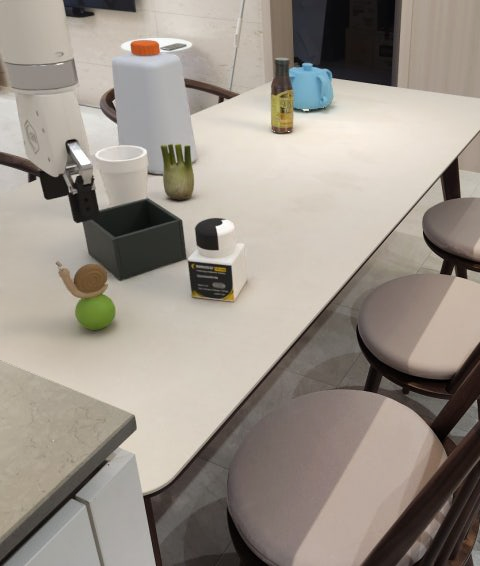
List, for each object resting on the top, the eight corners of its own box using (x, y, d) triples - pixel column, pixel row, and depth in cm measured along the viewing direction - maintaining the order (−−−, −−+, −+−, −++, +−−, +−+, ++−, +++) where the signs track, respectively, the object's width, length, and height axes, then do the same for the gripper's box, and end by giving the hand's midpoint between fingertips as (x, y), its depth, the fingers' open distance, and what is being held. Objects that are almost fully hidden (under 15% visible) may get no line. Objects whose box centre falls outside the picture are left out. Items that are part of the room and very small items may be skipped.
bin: (119, 280, 106) (112, 239, 102) (88, 253, 113) (80, 214, 109) (186, 258, 113) (182, 219, 109) (153, 234, 121) (148, 197, 117)
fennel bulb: (198, 196, 138) (192, 142, 132) (186, 204, 134) (180, 149, 128) (174, 192, 139) (168, 138, 133) (161, 200, 135) (154, 145, 129)
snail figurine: (66, 327, 93) (48, 255, 87) (109, 312, 97) (95, 242, 91) (80, 344, 90) (63, 270, 84) (124, 328, 94) (111, 256, 88)
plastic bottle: (151, 150, 162) (136, 34, 148) (204, 158, 158) (193, 40, 144) (113, 168, 150) (92, 44, 135) (169, 178, 146) (154, 51, 132)
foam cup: (98, 213, 128) (86, 151, 121) (141, 202, 133) (131, 142, 127) (120, 229, 122) (109, 165, 115) (164, 216, 128) (156, 154, 121)
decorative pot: (326, 116, 196) (326, 71, 189) (276, 111, 198) (275, 66, 191) (337, 103, 210) (338, 60, 203) (290, 99, 212) (289, 56, 205)
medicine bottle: (191, 297, 102) (183, 230, 96) (207, 276, 108) (200, 211, 102) (234, 302, 101) (229, 235, 95) (247, 280, 107) (243, 216, 101)
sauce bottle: (282, 135, 177) (280, 62, 167) (266, 131, 180) (263, 58, 170) (298, 131, 182) (297, 59, 172) (282, 126, 185) (281, 55, 175)
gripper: (-15, 66, 78) (18, 195, 87) (36, 94, 68) (69, 238, 76) (47, 59, 83) (73, 183, 92) (105, 84, 72) (128, 221, 81)
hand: (71, 208), depth 84 cm, fingers open, 9 cm apart
